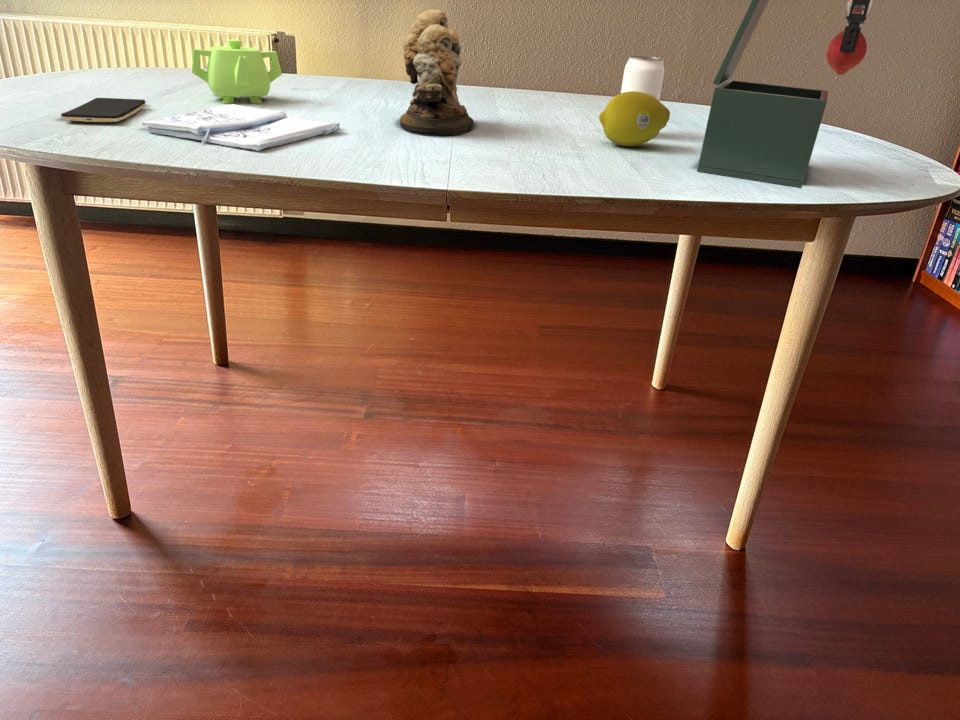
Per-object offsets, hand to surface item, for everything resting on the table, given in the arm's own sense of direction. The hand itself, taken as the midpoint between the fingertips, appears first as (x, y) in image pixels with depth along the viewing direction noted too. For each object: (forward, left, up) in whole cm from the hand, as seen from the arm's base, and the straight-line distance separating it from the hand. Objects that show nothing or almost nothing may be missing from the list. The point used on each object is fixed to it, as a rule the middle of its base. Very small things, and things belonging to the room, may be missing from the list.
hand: (846, 51), depth 113 cm
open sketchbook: (+75, +60, -15) cm, 97 cm away
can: (+29, +17, -15) cm, 37 cm away
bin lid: (+13, +32, +3) cm, 34 cm away
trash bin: (+8, +32, -15) cm, 36 cm away
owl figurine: (+57, +36, -15) cm, 69 cm away
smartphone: (+98, +64, -15) cm, 118 cm away
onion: (0, 0, -4) cm, 4 cm away
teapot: (+95, +39, -15) cm, 104 cm away
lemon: (+27, +28, -15) cm, 42 cm away
